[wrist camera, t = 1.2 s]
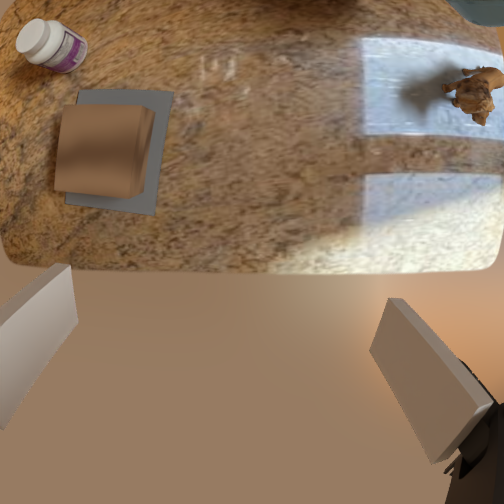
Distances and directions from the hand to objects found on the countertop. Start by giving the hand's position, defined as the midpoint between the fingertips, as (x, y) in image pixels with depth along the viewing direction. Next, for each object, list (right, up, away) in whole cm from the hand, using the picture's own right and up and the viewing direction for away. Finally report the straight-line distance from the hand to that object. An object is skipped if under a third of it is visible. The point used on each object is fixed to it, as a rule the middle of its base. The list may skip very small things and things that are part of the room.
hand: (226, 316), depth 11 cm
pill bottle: (-21, +27, +14) cm, 37 cm away
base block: (-15, +14, +18) cm, 27 cm away
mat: (-15, +14, +18) cm, 27 cm away
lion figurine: (+30, +25, +18) cm, 43 cm away
